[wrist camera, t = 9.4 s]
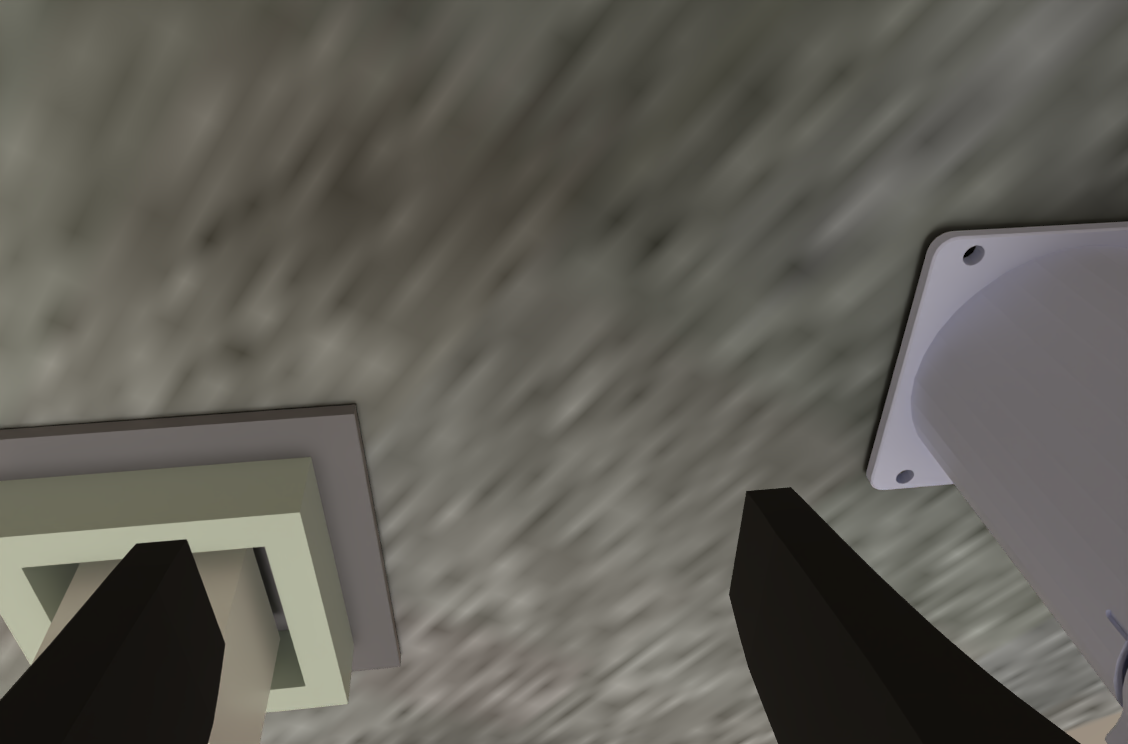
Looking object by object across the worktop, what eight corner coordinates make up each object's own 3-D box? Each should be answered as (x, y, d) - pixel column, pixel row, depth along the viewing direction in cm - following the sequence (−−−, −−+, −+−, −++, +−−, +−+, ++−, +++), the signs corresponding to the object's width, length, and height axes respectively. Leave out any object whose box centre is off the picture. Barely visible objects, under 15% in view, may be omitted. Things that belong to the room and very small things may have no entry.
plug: (255, 515, 22) (200, 723, 17) (284, 615, 24) (244, 823, 19) (95, 529, 21) (-8, 745, 16) (141, 628, 24) (62, 845, 19)
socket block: (355, 404, 21) (346, 467, 19) (400, 655, 26) (397, 724, 24) (-73, 435, 20) (-130, 505, 18) (71, 689, 25) (39, 763, 23)
